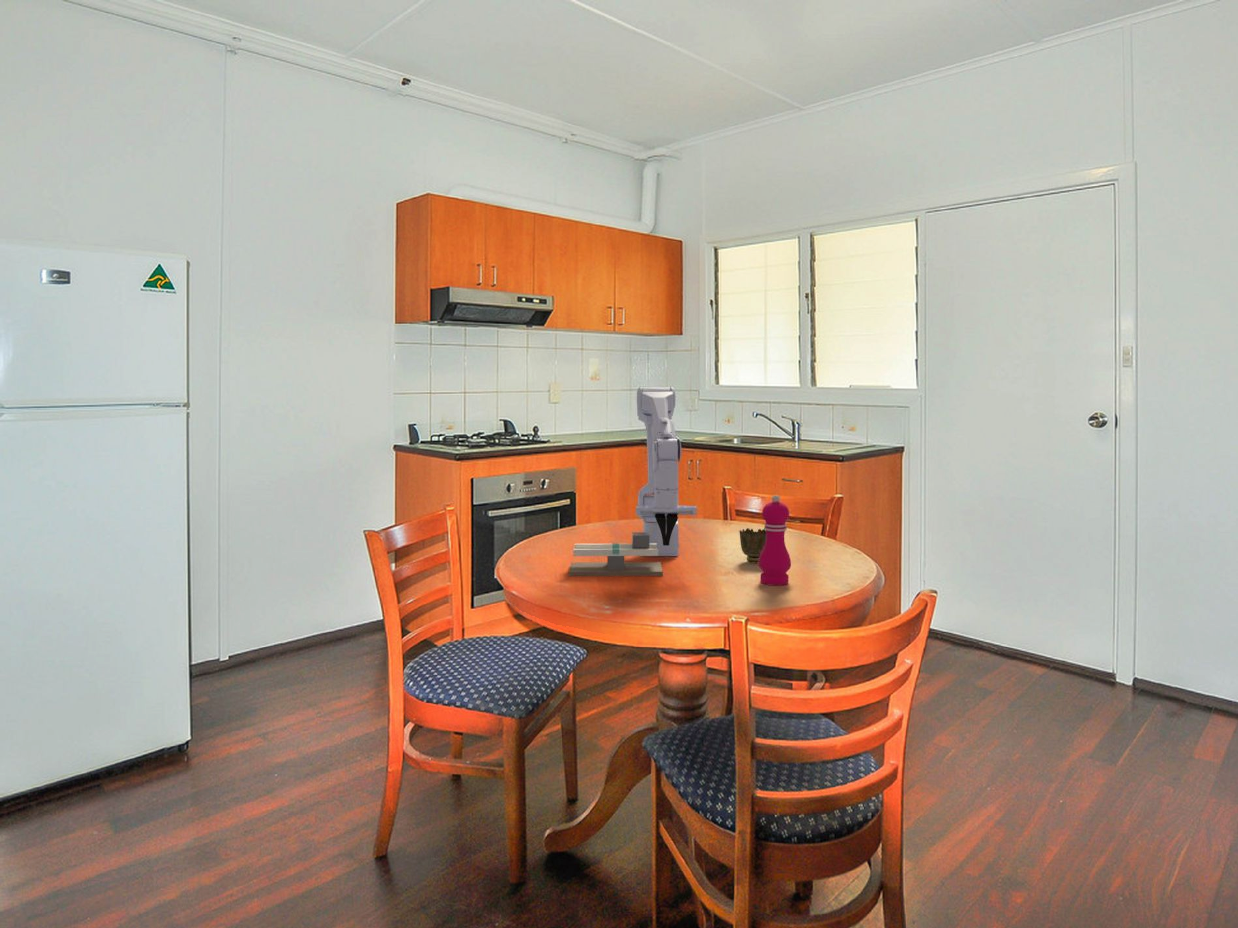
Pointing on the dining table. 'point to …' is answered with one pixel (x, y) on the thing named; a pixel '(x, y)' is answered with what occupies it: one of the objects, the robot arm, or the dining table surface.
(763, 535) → the cup
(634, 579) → the dining table surface
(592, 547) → the balance stand
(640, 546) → the rider
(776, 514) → the pepper mill
